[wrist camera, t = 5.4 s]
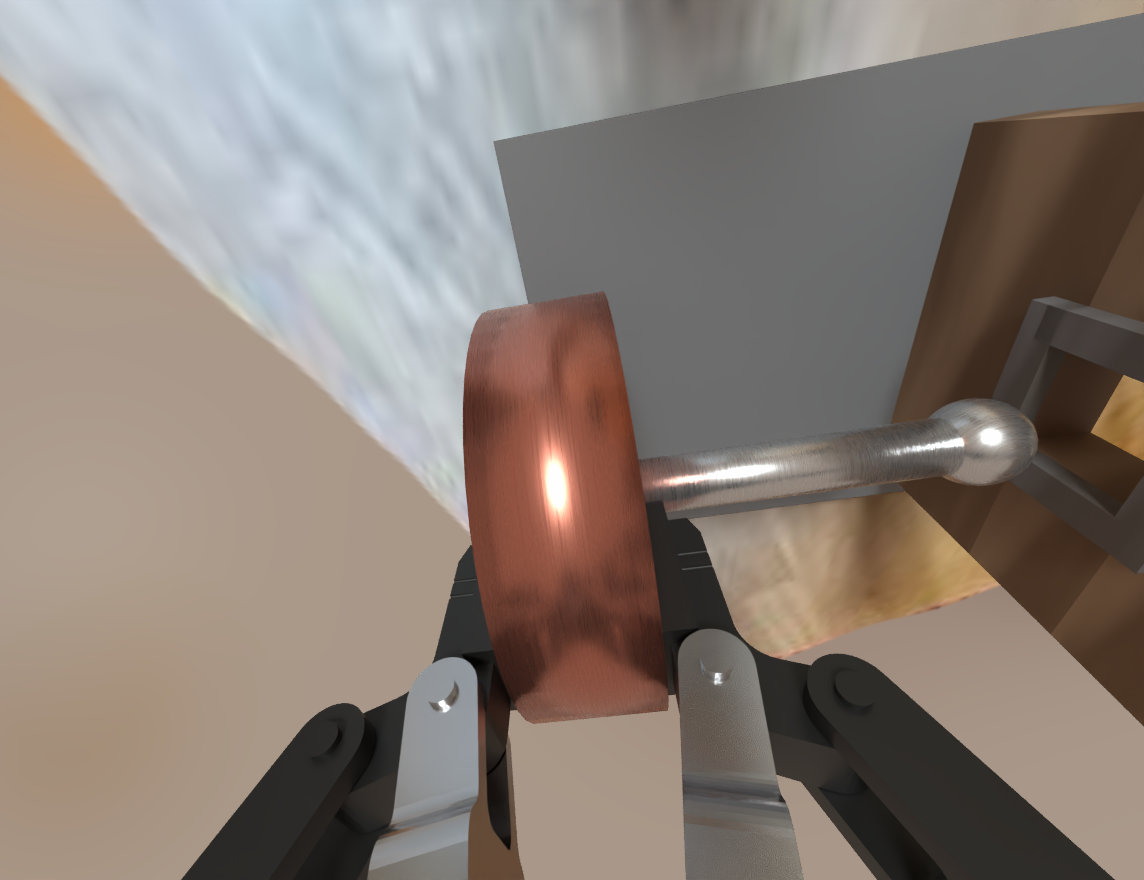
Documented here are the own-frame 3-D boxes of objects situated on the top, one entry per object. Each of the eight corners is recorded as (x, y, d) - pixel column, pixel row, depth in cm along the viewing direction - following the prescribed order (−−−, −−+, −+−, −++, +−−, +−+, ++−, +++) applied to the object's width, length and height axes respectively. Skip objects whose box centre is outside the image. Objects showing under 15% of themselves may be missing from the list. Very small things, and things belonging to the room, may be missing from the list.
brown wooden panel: (1039, 110, 14) (2615, -23, 3) (921, 459, 22) (1279, 765, 11) (954, 126, 14) (2179, 49, 3) (866, 466, 22) (1165, 775, 11)
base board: (1139, 15, 14) (1195, 2, 13) (959, 463, 24) (981, 480, 23) (499, 142, 16) (493, 141, 14) (577, 514, 25) (577, 533, 24)
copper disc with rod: (936, 192, 14) (1714, 277, 4) (864, 471, 20) (1132, 755, 10) (503, 268, 15) (402, 466, 5) (560, 512, 21) (559, 803, 11)
